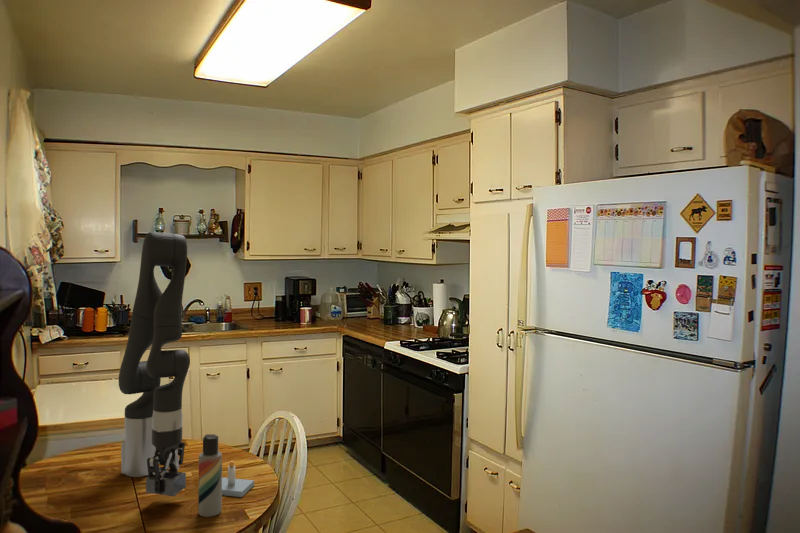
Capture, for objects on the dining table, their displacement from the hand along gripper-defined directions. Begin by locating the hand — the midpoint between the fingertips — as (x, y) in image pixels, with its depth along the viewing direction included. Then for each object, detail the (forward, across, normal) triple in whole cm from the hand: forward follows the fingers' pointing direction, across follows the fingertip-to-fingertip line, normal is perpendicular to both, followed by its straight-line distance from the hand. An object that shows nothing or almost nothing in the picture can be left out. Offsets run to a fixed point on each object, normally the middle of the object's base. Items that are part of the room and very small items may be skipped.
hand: (166, 487), depth 157 cm
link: (+1, 0, 0) cm, 1 cm away
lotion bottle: (+4, +2, +14) cm, 15 cm away
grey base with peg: (+4, -12, +13) cm, 18 cm away
